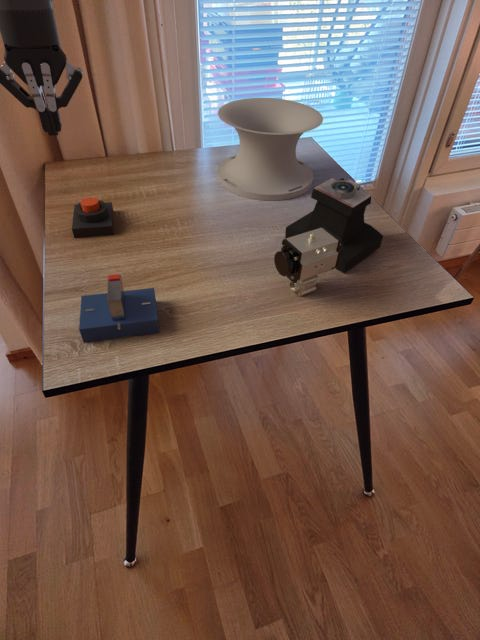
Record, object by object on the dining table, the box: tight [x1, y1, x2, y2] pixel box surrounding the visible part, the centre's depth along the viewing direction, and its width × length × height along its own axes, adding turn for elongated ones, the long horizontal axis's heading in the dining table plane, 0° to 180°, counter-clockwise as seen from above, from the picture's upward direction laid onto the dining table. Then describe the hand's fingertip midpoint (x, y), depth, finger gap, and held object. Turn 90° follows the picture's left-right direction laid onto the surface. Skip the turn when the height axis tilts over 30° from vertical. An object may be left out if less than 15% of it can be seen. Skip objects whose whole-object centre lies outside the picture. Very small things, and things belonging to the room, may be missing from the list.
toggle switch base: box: [78, 287, 161, 343], centre depth 69 cm, size 12×10×3 cm
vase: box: [217, 97, 324, 202], centre depth 104 cm, size 25×25×16 cm
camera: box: [284, 177, 384, 274], centre depth 84 cm, size 16×14×15 cm
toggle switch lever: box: [107, 274, 125, 320], centre depth 66 cm, size 6×2×4 cm, turn 12°
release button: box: [80, 196, 100, 212], centre depth 87 cm, size 4×4×2 cm
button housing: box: [71, 199, 115, 239], centre depth 89 cm, size 8×10×4 cm
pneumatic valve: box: [273, 227, 343, 297], centre depth 73 cm, size 6×12×12 cm, turn 120°
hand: (54, 133), depth 69 cm, fingers closed
